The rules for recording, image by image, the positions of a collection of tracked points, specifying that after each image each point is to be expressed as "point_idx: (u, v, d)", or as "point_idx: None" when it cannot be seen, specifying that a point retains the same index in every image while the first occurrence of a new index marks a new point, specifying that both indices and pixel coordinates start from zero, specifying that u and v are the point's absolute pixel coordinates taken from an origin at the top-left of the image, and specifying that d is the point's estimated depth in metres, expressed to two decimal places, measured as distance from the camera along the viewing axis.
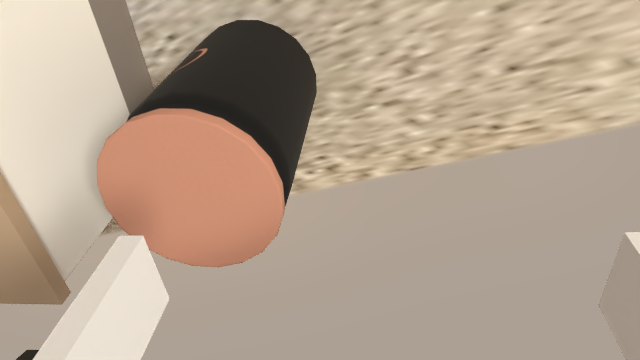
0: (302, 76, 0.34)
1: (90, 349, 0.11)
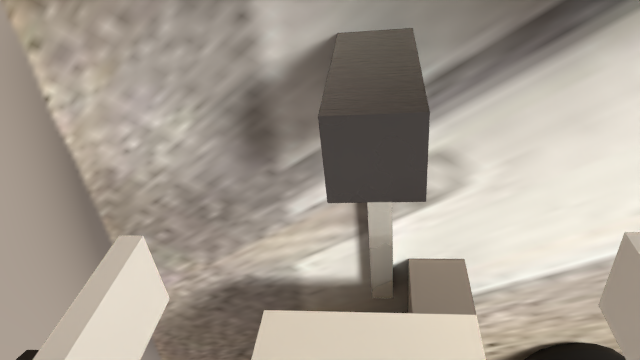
0: None
1: (90, 349, 0.11)
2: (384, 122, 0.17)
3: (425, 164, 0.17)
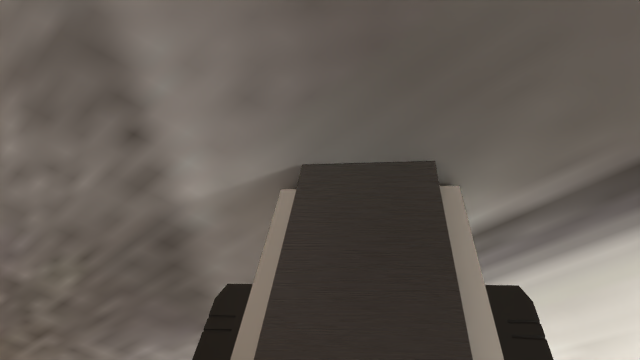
0: None
1: None
2: None
3: None
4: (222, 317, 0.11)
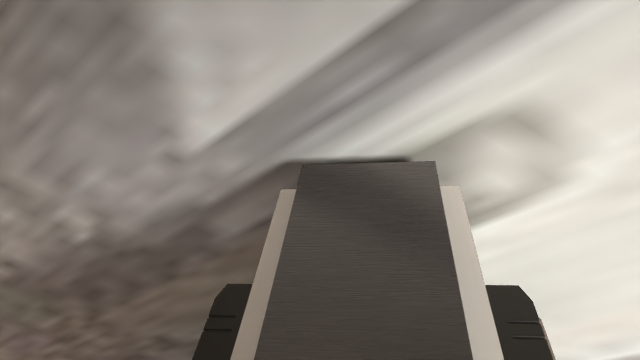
0: None
1: None
2: None
3: None
4: (222, 317, 0.11)
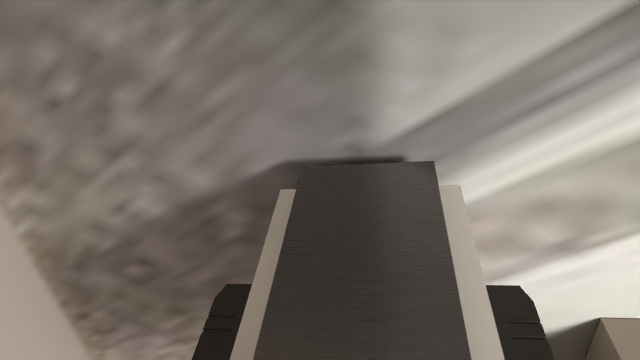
0: None
1: None
2: None
3: None
4: (221, 317, 0.11)
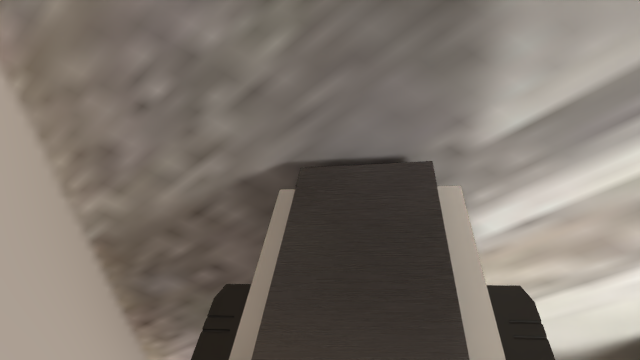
0: None
1: None
2: None
3: None
4: (221, 317, 0.11)
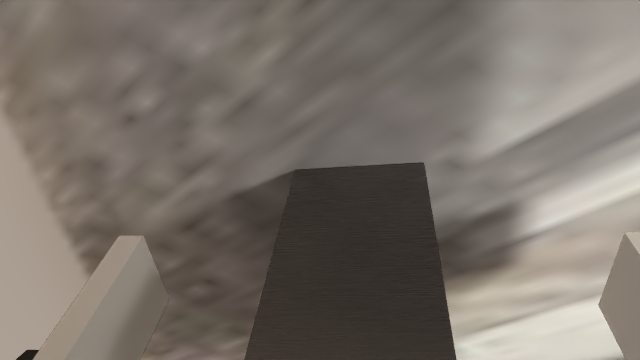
0: None
1: (90, 349, 0.11)
2: None
3: None
4: None
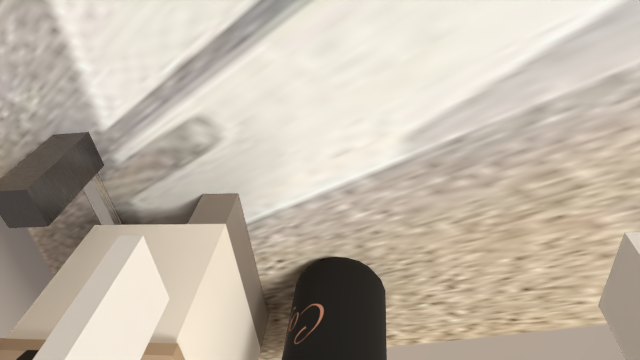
0: (381, 310, 0.49)
1: (90, 350, 0.11)
2: (11, 193, 0.38)
3: (38, 210, 0.39)
4: None
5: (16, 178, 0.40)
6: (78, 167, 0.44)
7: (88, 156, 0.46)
